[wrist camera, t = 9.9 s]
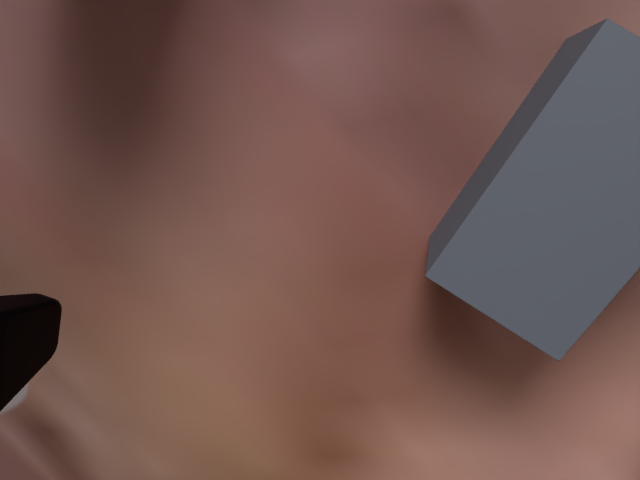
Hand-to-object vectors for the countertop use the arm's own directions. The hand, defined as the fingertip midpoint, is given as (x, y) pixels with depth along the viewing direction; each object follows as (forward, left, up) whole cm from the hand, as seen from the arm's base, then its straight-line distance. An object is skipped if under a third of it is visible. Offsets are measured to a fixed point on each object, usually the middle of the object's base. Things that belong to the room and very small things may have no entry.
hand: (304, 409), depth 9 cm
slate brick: (+3, -5, -13) cm, 14 cm away
